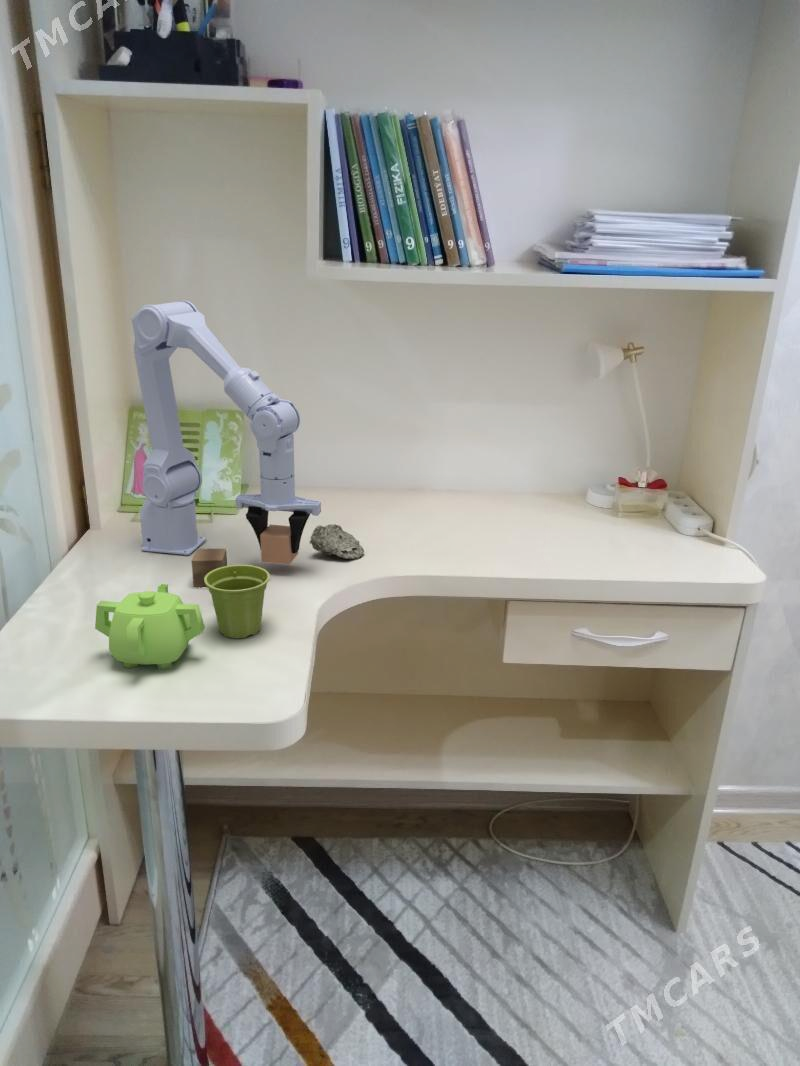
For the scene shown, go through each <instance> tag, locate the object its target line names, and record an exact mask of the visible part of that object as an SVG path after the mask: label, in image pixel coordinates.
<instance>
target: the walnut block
mask: <svg viewBox="0 0 800 1066" xmlns="http://www.w3.org/2000/svg"><path fill="white" fill-rule="evenodd" d="M224 566H228V553H227V548H197V549H196V550H194V554H193V556H192V559H191V570H192V581H193V582H192V583H193V588H194V587H197V588H196V589H199V588H198V587H200V589H202V588H201V587H207V586H206V584H205V582H204V578H205V576H206V575H207V574H208V573H209V572H211V571H213V570H215V569H217V568H220V567H224Z"/></svg>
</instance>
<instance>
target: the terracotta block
mask: <svg viewBox="0 0 800 1066" xmlns="http://www.w3.org/2000/svg"><path fill="white" fill-rule="evenodd" d="M260 540H261V549H260V557H261V559H260V560H261V562H262V563H268V564H280V565H289V566H290V564H291V563H292V562H293V561H294V559H296V557H297V556H298V554H299V550H298V551H297V553H292V550H291V530H290V525H281V524H268V527H267V528H266V529H265V530H264V531H263V532H262V534H261V535H260Z"/></svg>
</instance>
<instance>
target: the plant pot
mask: <svg viewBox="0 0 800 1066" xmlns="http://www.w3.org/2000/svg"><path fill="white" fill-rule="evenodd" d="M229 565H230V566H229ZM229 565H227V566H224V567H220V568H217V569H215V570H213V571H211V572H209V573H208V574H207V575H206V576H205V578H204V582H205V584H206V586H207V587H208V588H207V589H208V592H209V594H210V595H211V599H212V604H213V607H214V612H215V617H216V621H217V626H218V630H219V632H220V633H222V634H223V636H224V637H227V638H231V639H244V638H245V639H246V638H247V637H248V636H250V635H256V634H257V633H258V631H261V627H262V626H261V625H262V620H263V619H262V617H263V608H264V599H265V598H264V597H265V591H266V589H267V586H268V585H267V584H268V582H269V581H270V580H271V579H270V577H271V576H270V573H269V571H267V569H265V568H263V567H260V566H256V565H250V564H229Z"/></svg>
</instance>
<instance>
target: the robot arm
mask: <svg viewBox="0 0 800 1066" xmlns="http://www.w3.org/2000/svg"><path fill="white" fill-rule="evenodd" d="M131 323H132V324H131V325H132V329H133V333H134V342H133V343H134V344H133V353H134V359H135V366H136V371H137V376H138V381H139V387H140V393H141V397H142V403H143V409H144V413H145V418H146V419H145V420H146V425H147V431H148V436H149V441H150V447H151V452H150V453H149V455H148V456H147V458H146V459H145V461H144V462H143V464H142V469H143V478H142V490H143V493H144V495H145V497H146V499H145V500H144V502H143V504H142V505H141V509H140V515H139V516H140V518H139V519H140V529H141V538H142V539H141V540H142V547H141V551H143V552H151V553H153V552H154V553H163V554H172V555H181V556H183V555H185V556H188V555H191V554H192V553H193V552H195V551H196V549H199V547H200V546H201V545H203V543H204V542H206V540H207V537H206V536H199V535H198V527H197V526H198V525H197V524H198V523H197V513H196V501H195V500H196V497H198V495H197V494H198V493H197V492H198V491H199V490H200V489H201V487H202V484H203V475H202V472H201V469H200V468H199V466H198V465H197V462H196V458H195V454H194V453H193V452H192V451H190V450H189V449H188V448H186V447H185V446H184V441H183V437H182V436H183V435H182V430H181V423H180V419H179V412H178V406H177V401H176V394H175V389H174V382H173V376H172V371H171V370H172V369H171V365H170V357H172V355H173V354H174V352H175V351H176V350H177V349H178V348H182V349H189V350H190V351H192V352H193V353H194V354H195V355H196V356H197V357H198V358H199V359H200V360H202V361H201V362H204V364H206V365H207V367H208V368H210V369H211V370H212V371H213V372H214V373H215V374H216V375H217V376H218V377H219V378H220V379H221V380H222V381H223V382H224V383H223V386H224V387H223V390H224V391H223V392H224V393H225V394H226V395H227V396H228V397H229V399H231V401H232V402H233V403H234V404H235V405H236V406H237V407H238V408H239V410H241V411H242V413H243V414H244V415H245V416H246V417H247V418H248V419H249V420H250V421H251V422H249V427H250V430H251V432H252V434H253V436H254V437H255V440H256V447H257V448H258V454H259V455H258V456H259V457H258V458H259V479H260V480H259V481H260V484H259V485H260V493H258V494H256V493H255V494H242V493H240V494H238V495H237V496H236V497H235V509H241V510H243V508H244V509H247V512H246V514H245V519H246V520H247V521H248V523H249V524H250V526H251V527H252V529H253V532H254V534H255V536H256V539H257V540H258V541H257V543H258V545H259V549H260V550H261V540H260V535H261V534H262V532H263V531H264V530H265V529H266V528H267V527H268V526H269V523H268V521H269V512H278V511H279V512H289V513H290V512H291V513H292V514H291V515H290V516H289V517H288V523H289V526H290V530H291V550H292V553H297V551H298V552H299V550H300V545H301V538H302V535H303V532H304V529H305V527H306V525H307V522H308V520H309V519H310V516H311V515H312V516H317V517H319V515H320V514H321V513H322V501H320V500H313V499H308V498H306V497H305V498H304V497H300V496H296V483H295V481H296V480H295V445H294V444H295V442H294V440H295V439H294V435H295V434H294V433H295V432H297V430H298V428H299V427H300V423H301V418H300V417H301V416H300V413H299V410H298V409H297V408H296V406H295V405H294V403H293V402H292V401H290V400H288V399H284V398H283V399H282V398H280V397H279V396H278V395H277V394H276V393H274V392H273V391H272V390H271V389H270V388H269V387H268V386H267V385H266V384H265V382H263V380H262V379H260V373H259V372H257V370H253V369H251V368H249V367H241V366H239V364H238V363H237V362H236V360H235V359H234V358H233V357H232V355H230V353H229V352H228V351H227V350H226V348H225V346H223V344H221V342H220V341H219V340H218V339H217V337H216V336H215V335H214V334H213V332H212V331H211V330H210V328H209V327H208V326H207V324H206V317H205V315H204V314H203V313H201V312H200V311H199V310H198V308H197V307H196V306H195V304H193V303H192V302H191V301H189V300H184V299H182V300H178V301H173V302H172V301H171V302H166V303H158V304H145V305H142V306H141V307H140V308H139V309H138V310H137V312H136V313H135V314H134V316H133V317H132V318H131Z"/></svg>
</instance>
